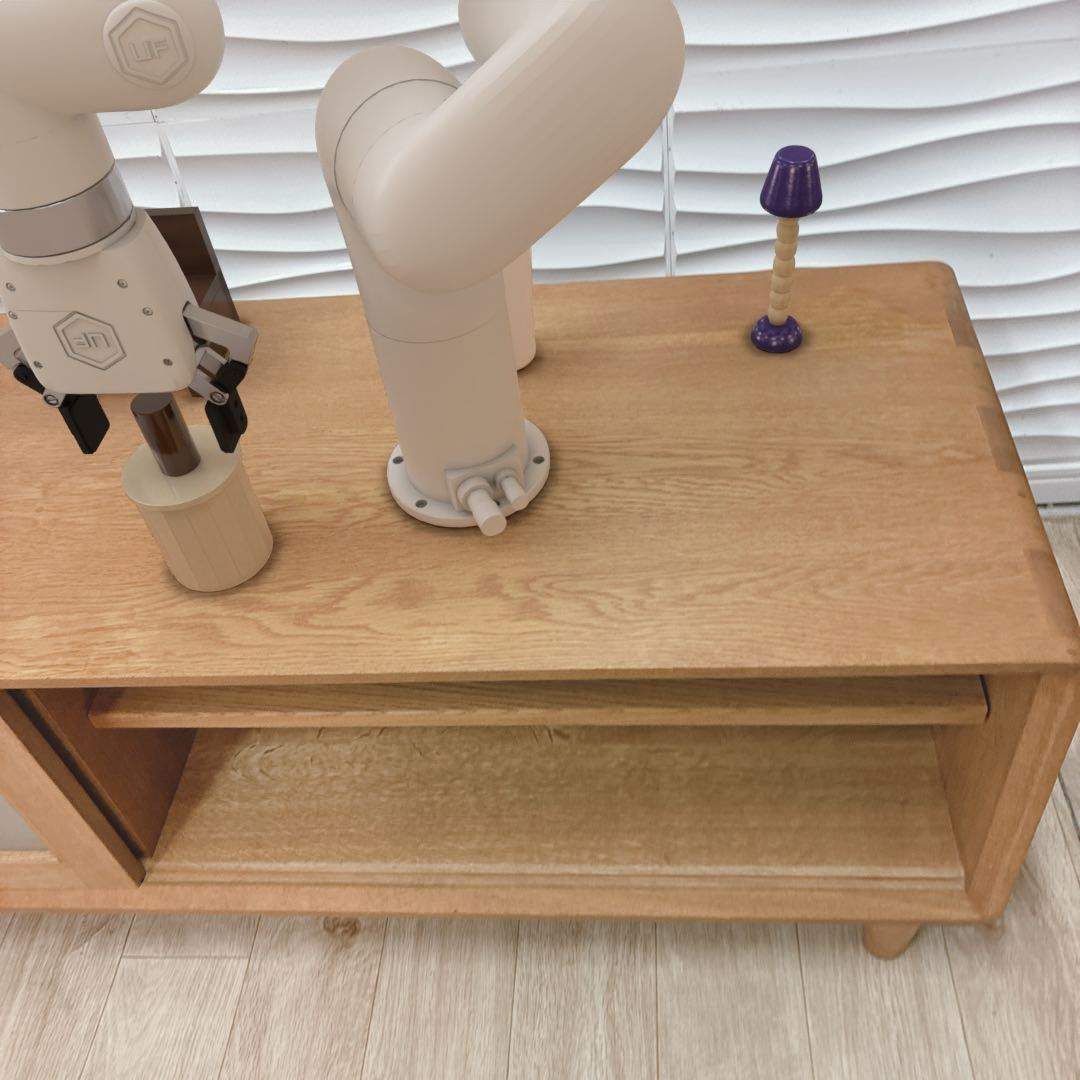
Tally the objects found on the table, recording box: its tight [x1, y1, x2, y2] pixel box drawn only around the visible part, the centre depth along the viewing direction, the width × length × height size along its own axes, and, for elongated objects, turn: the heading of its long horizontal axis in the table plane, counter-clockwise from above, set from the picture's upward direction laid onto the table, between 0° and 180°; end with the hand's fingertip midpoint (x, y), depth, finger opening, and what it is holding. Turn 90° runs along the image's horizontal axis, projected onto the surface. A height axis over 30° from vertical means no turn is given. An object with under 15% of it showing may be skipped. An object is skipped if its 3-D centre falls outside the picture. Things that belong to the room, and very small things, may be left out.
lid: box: [120, 392, 244, 512], centre depth 72 cm, size 8×8×7 cm
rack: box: [143, 206, 241, 398], centre depth 94 cm, size 11×13×12 cm
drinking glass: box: [502, 246, 537, 371], centre depth 88 cm, size 7×7×15 cm
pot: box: [135, 462, 274, 593], centre depth 77 cm, size 8×8×8 cm
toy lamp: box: [750, 144, 823, 353], centre depth 85 cm, size 5×5×17 cm
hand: (165, 439), depth 72 cm, fingers open, 9 cm apart
